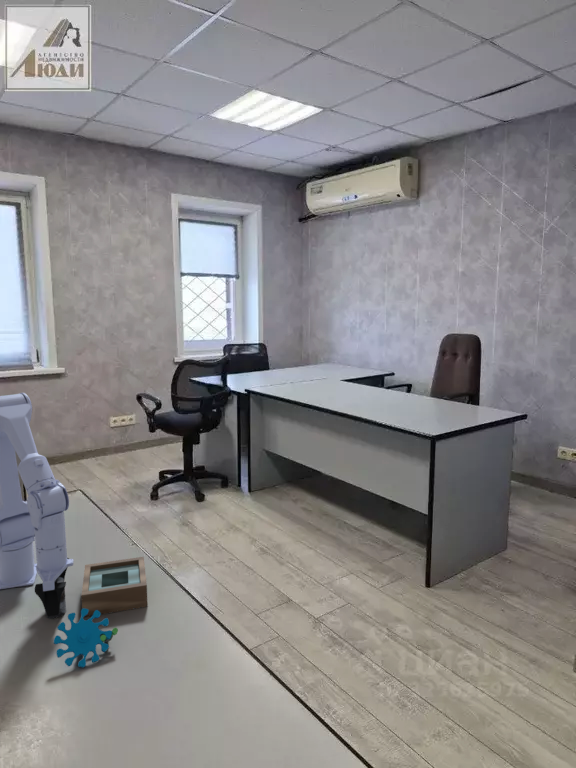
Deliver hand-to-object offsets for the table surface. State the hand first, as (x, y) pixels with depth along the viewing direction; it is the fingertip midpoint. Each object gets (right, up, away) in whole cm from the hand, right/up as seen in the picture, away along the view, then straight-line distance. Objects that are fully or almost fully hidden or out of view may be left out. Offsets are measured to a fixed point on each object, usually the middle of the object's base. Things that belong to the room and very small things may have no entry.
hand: (55, 604), depth 108 cm
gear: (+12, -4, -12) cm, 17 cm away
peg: (0, -2, 0) cm, 2 cm away
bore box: (+10, -1, +7) cm, 13 cm away
